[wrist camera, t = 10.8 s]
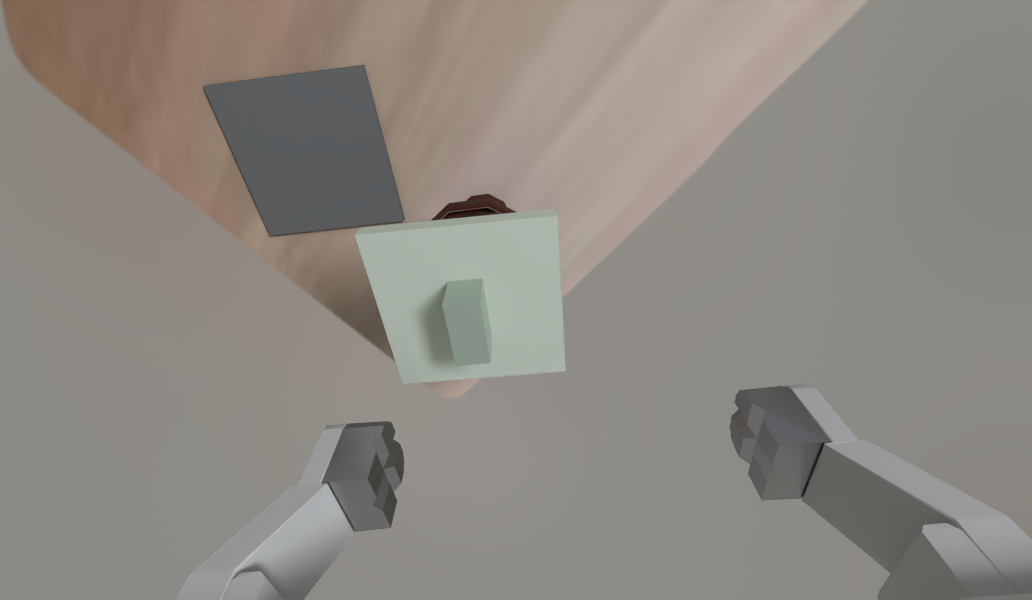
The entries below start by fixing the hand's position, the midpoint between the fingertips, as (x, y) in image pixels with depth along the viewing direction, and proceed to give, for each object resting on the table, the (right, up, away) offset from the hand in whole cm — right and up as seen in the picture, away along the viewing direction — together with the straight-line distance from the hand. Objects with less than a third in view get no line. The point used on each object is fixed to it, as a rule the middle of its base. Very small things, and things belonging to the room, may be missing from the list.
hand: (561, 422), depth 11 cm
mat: (-20, +16, +31) cm, 40 cm away
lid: (-4, +3, +22) cm, 23 cm away
